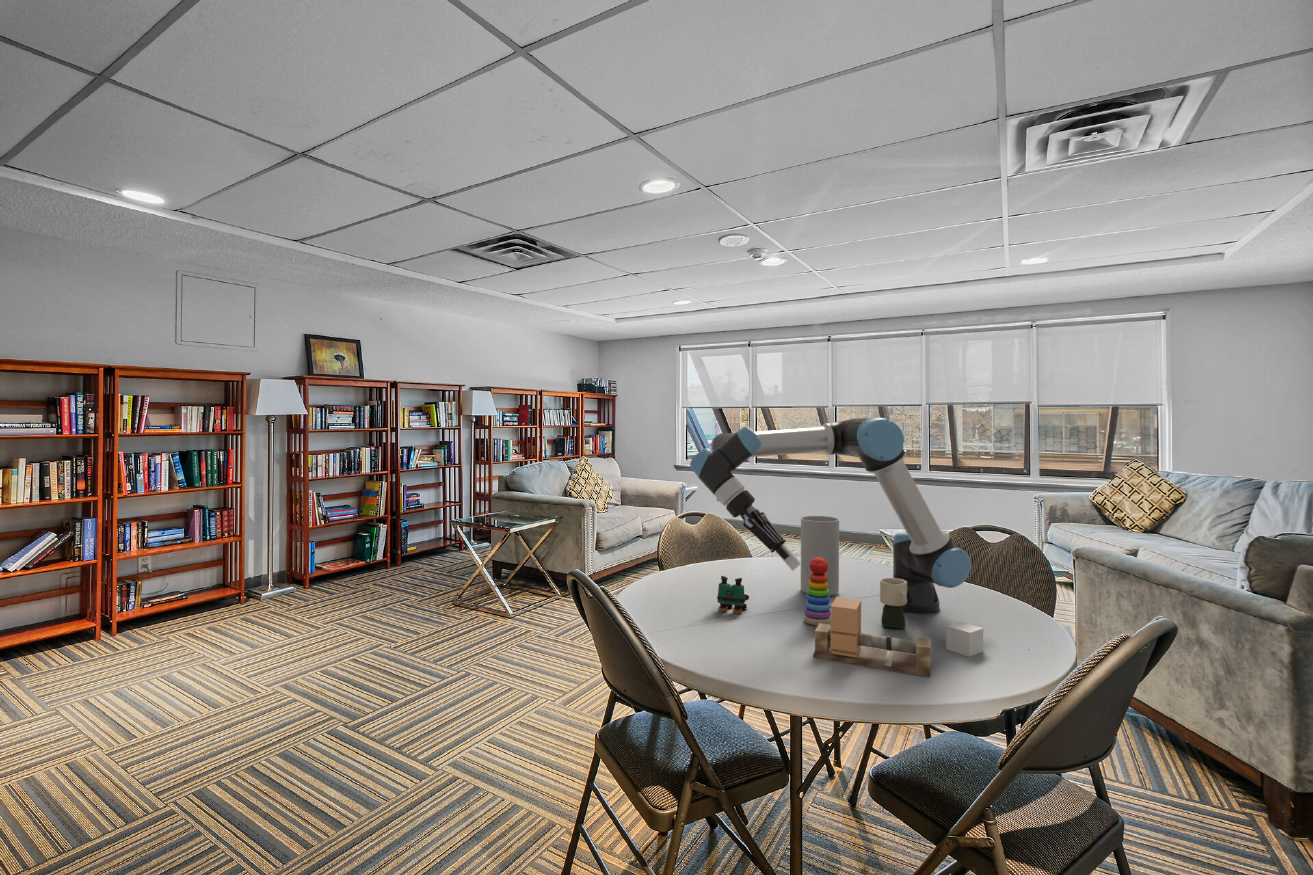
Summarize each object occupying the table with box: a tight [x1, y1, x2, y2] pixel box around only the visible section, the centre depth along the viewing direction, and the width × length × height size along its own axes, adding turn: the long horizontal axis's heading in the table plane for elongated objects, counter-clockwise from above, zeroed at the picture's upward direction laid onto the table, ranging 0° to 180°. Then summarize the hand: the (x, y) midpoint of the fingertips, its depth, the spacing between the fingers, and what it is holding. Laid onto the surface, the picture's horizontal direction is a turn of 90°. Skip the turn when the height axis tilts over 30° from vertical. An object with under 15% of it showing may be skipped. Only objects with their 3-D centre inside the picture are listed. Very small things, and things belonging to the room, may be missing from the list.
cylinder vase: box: [800, 515, 840, 597], centre depth 201 cm, size 12×12×25 cm
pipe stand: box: [812, 623, 932, 678], centre depth 144 cm, size 26×10×6 cm, turn 64°
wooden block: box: [830, 596, 862, 657], centre depth 147 cm, size 6×8×12 cm
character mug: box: [879, 577, 907, 629], centre depth 167 cm, size 11×7×13 cm, turn 11°
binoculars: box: [716, 575, 750, 615], centre depth 183 cm, size 9×11×10 cm
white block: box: [946, 621, 984, 657], centre depth 150 cm, size 6×6×6 cm
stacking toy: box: [803, 557, 832, 627], centre depth 171 cm, size 8×8×19 cm
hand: (797, 566), depth 152 cm, fingers closed
